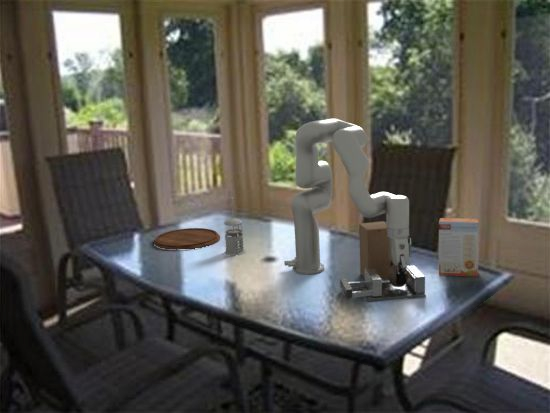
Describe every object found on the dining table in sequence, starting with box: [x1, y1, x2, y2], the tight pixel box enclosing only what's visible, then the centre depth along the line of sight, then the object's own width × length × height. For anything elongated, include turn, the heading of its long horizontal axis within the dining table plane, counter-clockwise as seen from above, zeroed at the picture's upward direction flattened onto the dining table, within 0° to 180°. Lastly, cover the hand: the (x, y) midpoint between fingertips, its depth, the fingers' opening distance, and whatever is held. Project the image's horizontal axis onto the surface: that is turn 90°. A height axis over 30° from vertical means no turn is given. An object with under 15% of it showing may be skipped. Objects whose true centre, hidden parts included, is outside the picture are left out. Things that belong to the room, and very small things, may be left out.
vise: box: [358, 264, 427, 303], centre depth 212 cm, size 20×14×7 cm
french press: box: [223, 197, 247, 257], centre depth 267 cm, size 10×12×25 cm
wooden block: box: [358, 220, 391, 281], centre depth 227 cm, size 10×10×20 cm
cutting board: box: [153, 227, 221, 250], centre depth 291 cm, size 32×32×3 cm
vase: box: [388, 263, 408, 287], centre depth 212 cm, size 7×7×9 cm
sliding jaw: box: [339, 268, 383, 299], centre depth 212 cm, size 12×12×6 cm
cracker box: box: [438, 217, 480, 278], centre depth 226 cm, size 14×6×21 cm, turn 71°
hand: (397, 280), depth 213 cm, fingers closed on vase, 7 cm apart
